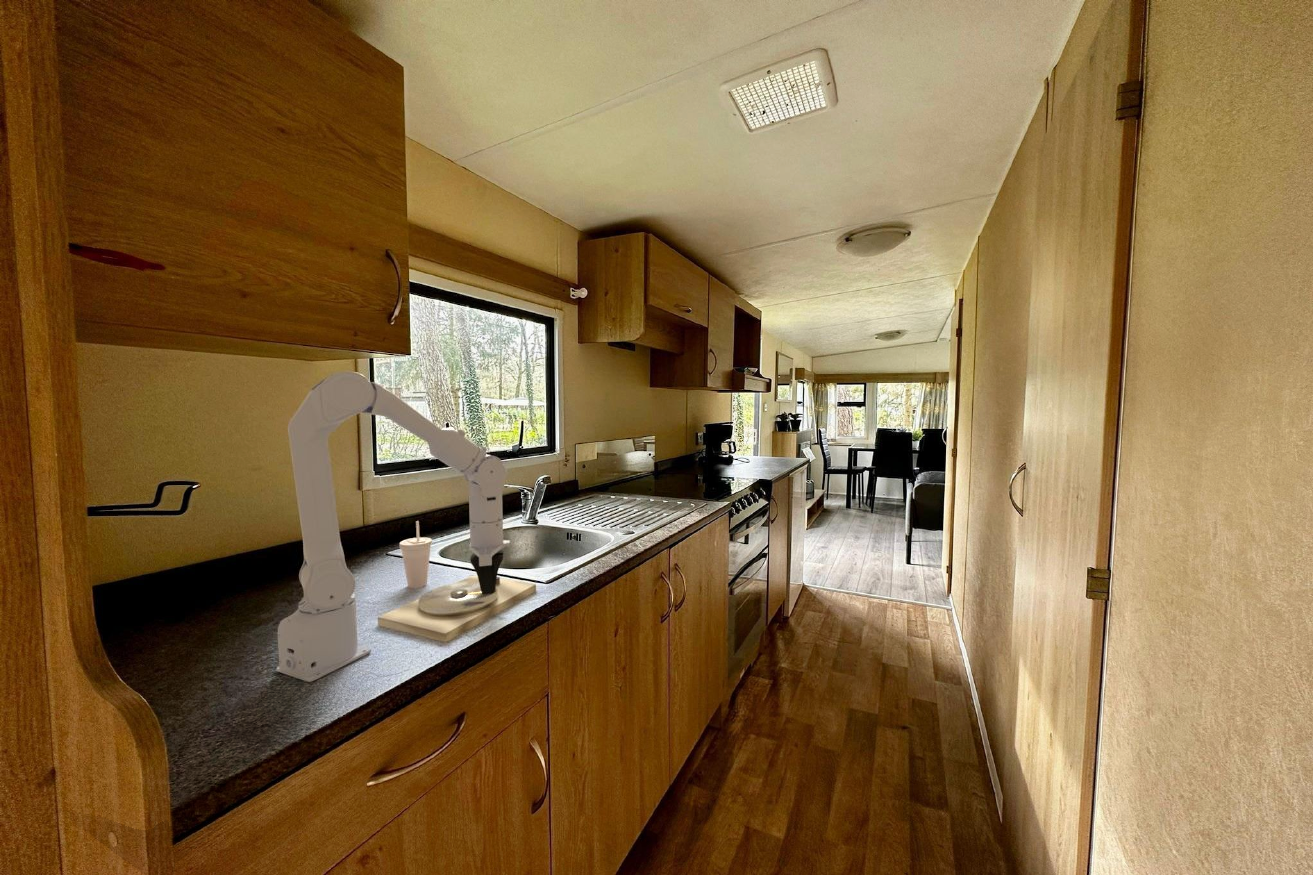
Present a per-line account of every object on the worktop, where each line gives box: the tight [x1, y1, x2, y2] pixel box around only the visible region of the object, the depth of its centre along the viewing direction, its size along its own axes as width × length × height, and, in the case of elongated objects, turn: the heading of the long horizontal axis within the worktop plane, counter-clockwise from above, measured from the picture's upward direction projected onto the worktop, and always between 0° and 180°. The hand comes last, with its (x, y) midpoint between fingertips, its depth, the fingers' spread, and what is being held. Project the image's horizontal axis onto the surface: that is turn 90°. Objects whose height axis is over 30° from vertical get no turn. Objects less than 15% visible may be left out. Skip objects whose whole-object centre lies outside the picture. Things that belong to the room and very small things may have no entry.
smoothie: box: [399, 520, 433, 589], centre depth 106 cm, size 6×6×14 cm
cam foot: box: [418, 582, 498, 616], centre depth 94 cm, size 14×14×5 cm
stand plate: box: [377, 573, 537, 643], centre depth 95 cm, size 24×16×3 cm, turn 157°
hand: (488, 592), depth 91 cm, fingers closed
